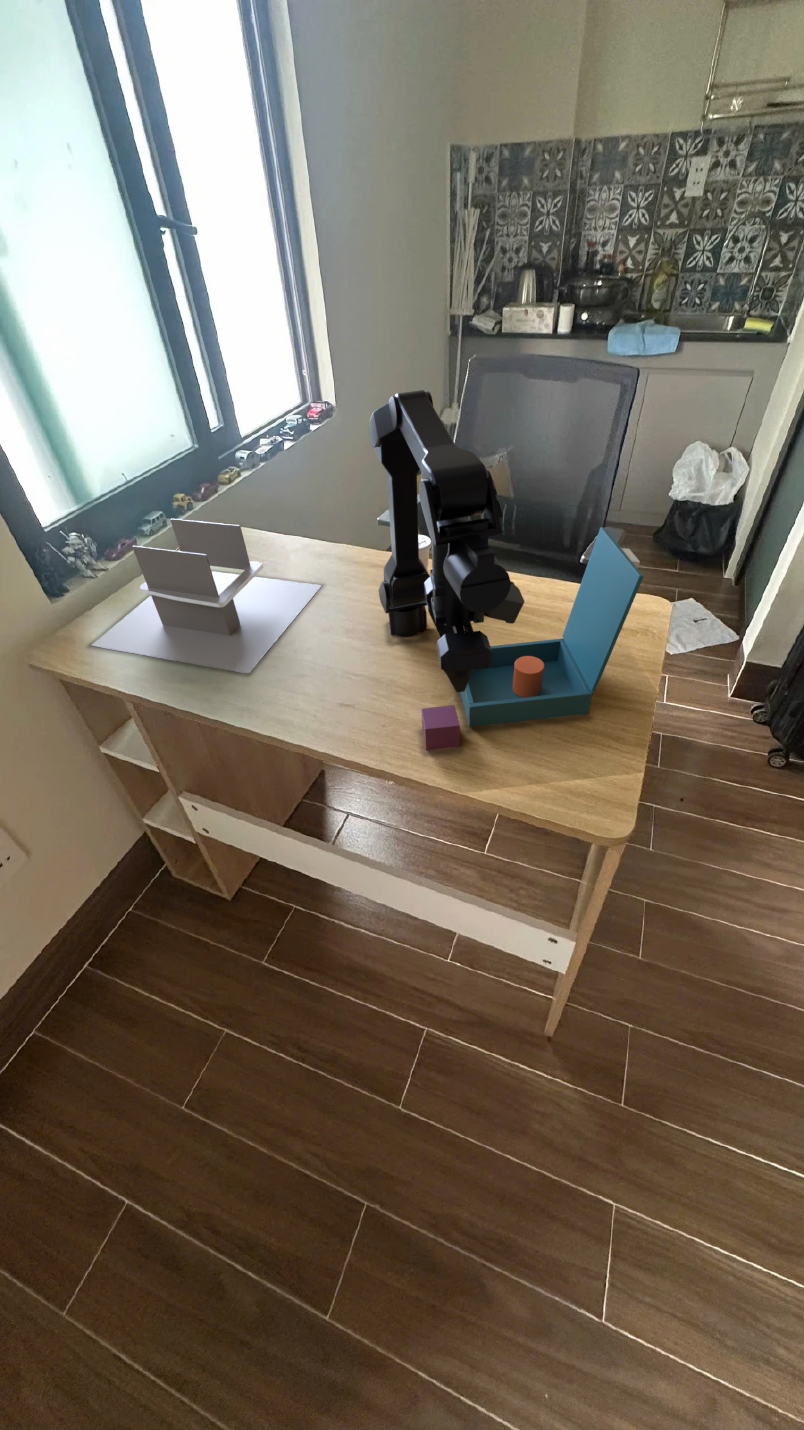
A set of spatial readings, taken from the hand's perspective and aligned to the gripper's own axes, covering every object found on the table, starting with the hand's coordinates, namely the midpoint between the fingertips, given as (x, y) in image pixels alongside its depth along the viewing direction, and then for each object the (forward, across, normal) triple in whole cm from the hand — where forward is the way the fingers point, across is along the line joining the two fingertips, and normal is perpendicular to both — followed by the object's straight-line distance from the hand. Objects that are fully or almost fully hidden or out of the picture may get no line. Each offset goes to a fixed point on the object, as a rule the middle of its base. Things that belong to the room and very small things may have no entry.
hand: (455, 670), depth 83 cm
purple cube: (+12, -2, +2) cm, 13 cm away
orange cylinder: (+11, +8, -13) cm, 19 cm away
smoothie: (+12, +45, +1) cm, 47 cm away
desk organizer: (+12, +42, +44) cm, 61 cm away
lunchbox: (+12, +8, -11) cm, 18 cm away
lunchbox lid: (-2, +8, -22) cm, 24 cm away
